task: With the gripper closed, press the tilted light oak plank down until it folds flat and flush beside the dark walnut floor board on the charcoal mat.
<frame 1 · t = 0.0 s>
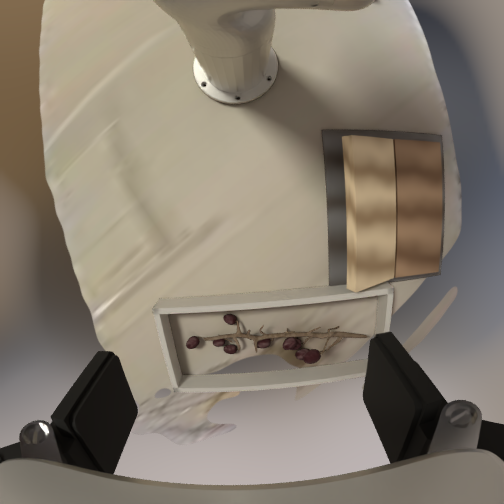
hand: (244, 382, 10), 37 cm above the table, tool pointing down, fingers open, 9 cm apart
walnut floor board: (391, 208, 45), on the table
decorative branch: (276, 333, 51), on the table
oak plank: (372, 212, 42), point 3 cm above the table, hinge at -25.0°
branch tray: (276, 336, 51), on the table
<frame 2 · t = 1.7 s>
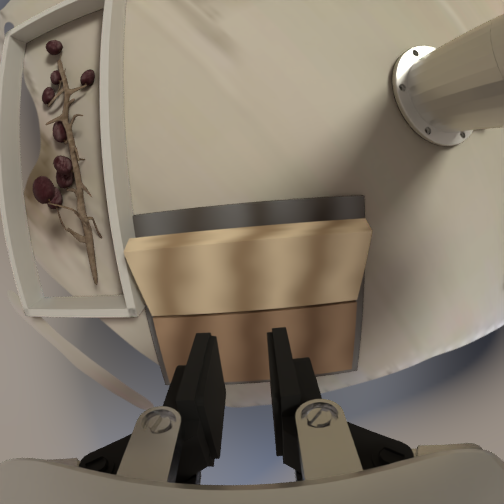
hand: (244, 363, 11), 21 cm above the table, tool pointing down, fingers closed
walnut floor board: (253, 303, 33), on the table
decorative branch: (75, 149, 29), on the table
oak plank: (250, 272, 29), point 3 cm above the table, hinge at -25.0°
branch tray: (62, 149, 29), on the table
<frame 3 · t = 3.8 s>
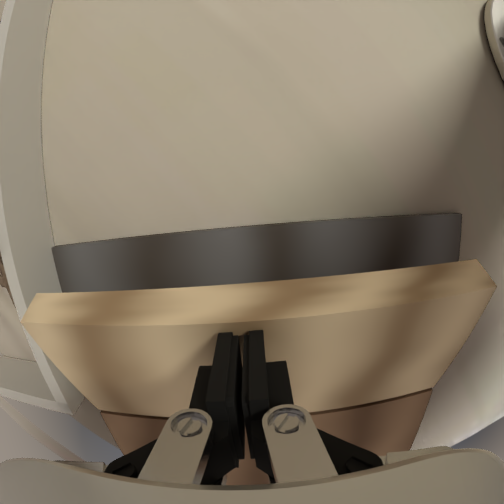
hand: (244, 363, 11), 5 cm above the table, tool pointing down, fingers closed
walnut floor board: (264, 394, 18), on the table
oak plank: (259, 364, 14), point 3 cm above the table, hinge at -21.3°, touching gripper
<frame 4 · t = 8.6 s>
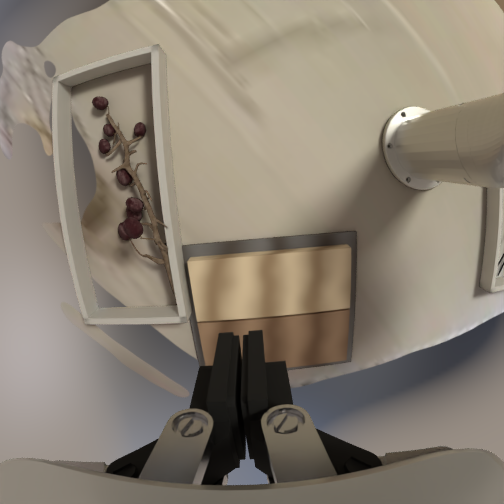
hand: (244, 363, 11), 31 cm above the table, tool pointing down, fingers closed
walnut floor board: (273, 310, 45), on the table
decorative branch: (138, 190, 41), on the table, touching branch tray
oak plank: (272, 284, 42), point 1 cm above the table, hinge at -0.5°
branch tray: (118, 189, 40), on the table
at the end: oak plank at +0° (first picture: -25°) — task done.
